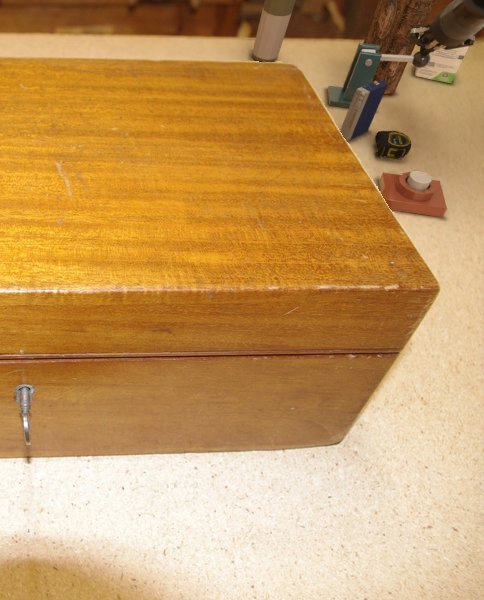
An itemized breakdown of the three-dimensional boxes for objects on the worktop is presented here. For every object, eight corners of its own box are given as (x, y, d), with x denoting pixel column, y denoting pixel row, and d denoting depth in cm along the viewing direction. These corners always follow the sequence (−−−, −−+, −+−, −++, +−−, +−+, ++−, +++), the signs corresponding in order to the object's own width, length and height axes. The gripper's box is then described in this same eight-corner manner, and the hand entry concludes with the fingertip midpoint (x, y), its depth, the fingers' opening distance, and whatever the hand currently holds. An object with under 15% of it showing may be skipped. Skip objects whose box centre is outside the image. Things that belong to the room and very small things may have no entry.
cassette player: (359, 127, 157) (379, 78, 148) (367, 132, 155) (388, 83, 147) (336, 136, 154) (356, 87, 145) (345, 142, 153) (365, 92, 144)
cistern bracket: (371, 95, 166) (392, 44, 156) (373, 111, 161) (396, 59, 152) (327, 89, 167) (346, 38, 158) (328, 105, 163) (348, 53, 153)
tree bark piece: (395, 96, 166) (442, -10, 147) (372, 94, 166) (416, -12, 148) (378, 61, 177) (420, -41, 159) (356, 60, 177) (395, -43, 159)
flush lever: (425, 63, 156) (431, 48, 153) (428, 71, 154) (434, 55, 151) (358, 60, 159) (362, 44, 156) (359, 67, 156) (363, 52, 154)
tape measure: (371, 141, 153) (378, 126, 150) (405, 146, 152) (412, 132, 149) (373, 159, 148) (379, 144, 146) (407, 165, 147) (414, 150, 144)
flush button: (426, 179, 138) (430, 172, 137) (429, 192, 135) (433, 184, 134) (405, 176, 139) (408, 169, 137) (407, 188, 136) (411, 181, 135)
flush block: (435, 189, 142) (444, 173, 139) (442, 217, 136) (451, 201, 133) (378, 180, 143) (386, 164, 140) (383, 208, 137) (391, 192, 134)
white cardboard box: (452, 75, 173) (475, 29, 164) (450, 84, 170) (474, 38, 161) (415, 66, 175) (436, 21, 167) (413, 76, 172) (434, 30, 164)
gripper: (502, 4, 134) (460, 36, 151) (429, -5, 136) (396, 28, 153) (493, 43, 134) (453, 70, 151) (421, 34, 136) (389, 62, 153)
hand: (425, 49), depth 152 cm, fingers closed
